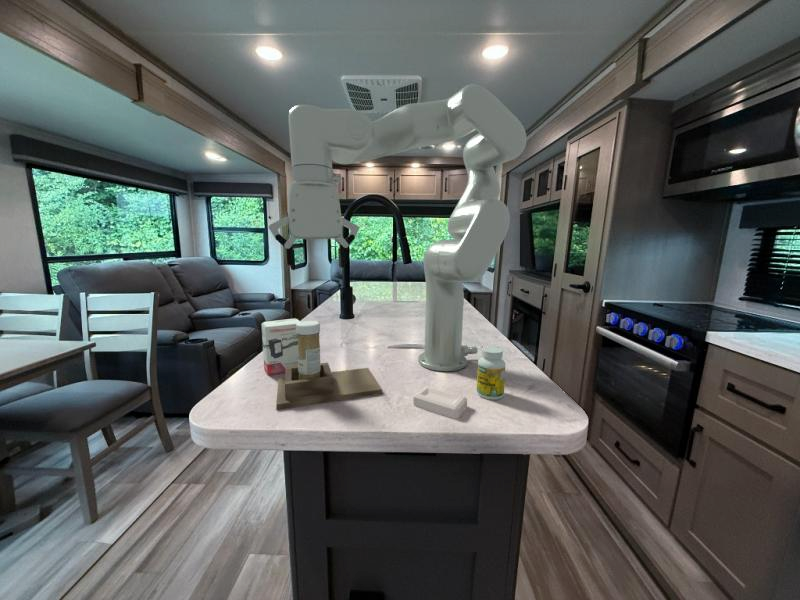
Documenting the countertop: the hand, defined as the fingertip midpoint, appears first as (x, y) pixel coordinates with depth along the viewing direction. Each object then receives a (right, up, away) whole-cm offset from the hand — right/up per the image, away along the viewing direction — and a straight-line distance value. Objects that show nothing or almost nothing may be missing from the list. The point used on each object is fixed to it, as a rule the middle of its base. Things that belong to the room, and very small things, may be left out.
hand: (318, 268), depth 62 cm
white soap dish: (+24, -27, -4) cm, 37 cm away
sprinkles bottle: (-2, -25, +1) cm, 25 cm away
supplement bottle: (+35, -26, +1) cm, 44 cm away
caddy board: (+2, -25, +2) cm, 25 cm away
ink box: (-12, -24, +12) cm, 29 cm away
